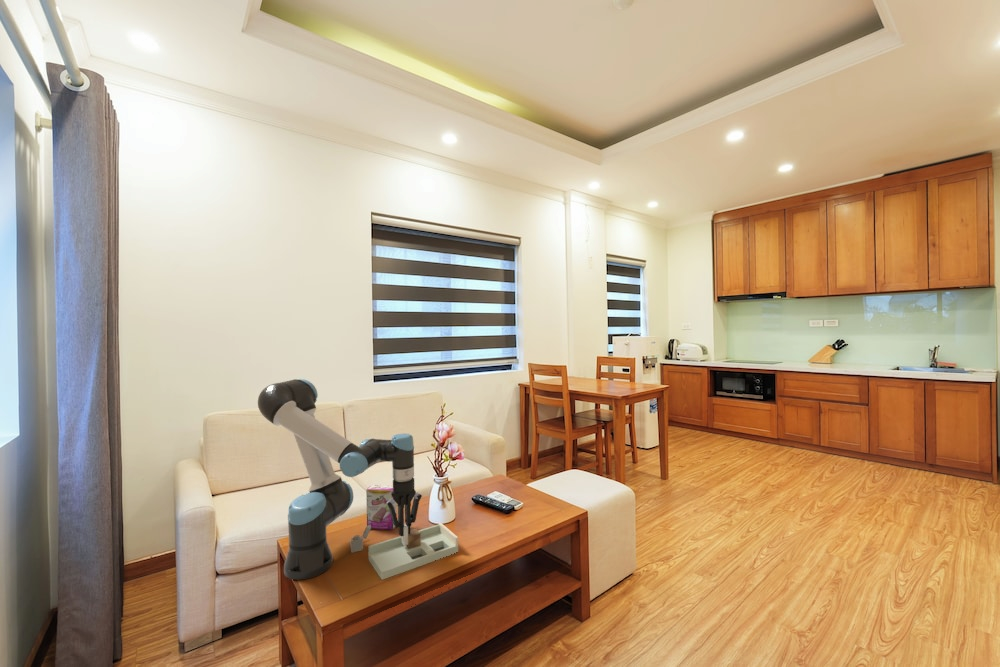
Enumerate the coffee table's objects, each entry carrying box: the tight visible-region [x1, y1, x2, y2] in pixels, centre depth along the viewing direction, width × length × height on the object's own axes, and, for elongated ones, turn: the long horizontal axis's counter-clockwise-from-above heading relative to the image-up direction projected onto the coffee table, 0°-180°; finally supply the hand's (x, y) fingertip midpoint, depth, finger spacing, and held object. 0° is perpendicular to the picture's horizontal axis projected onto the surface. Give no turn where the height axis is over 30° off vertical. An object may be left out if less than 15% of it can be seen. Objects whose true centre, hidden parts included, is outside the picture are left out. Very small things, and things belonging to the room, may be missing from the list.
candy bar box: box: [365, 484, 398, 531], centre depth 171 cm, size 11×5×16 cm, turn 84°
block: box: [406, 528, 421, 549], centre depth 153 cm, size 4×4×4 cm
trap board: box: [367, 522, 459, 581], centre depth 150 cm, size 28×14×6 cm, turn 124°
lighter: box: [349, 525, 372, 554], centre depth 155 cm, size 7×2×8 cm, turn 117°
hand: (404, 543), depth 151 cm, fingers closed
